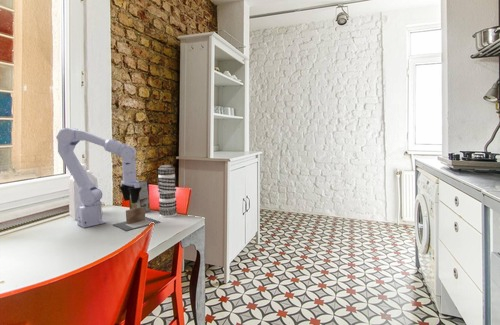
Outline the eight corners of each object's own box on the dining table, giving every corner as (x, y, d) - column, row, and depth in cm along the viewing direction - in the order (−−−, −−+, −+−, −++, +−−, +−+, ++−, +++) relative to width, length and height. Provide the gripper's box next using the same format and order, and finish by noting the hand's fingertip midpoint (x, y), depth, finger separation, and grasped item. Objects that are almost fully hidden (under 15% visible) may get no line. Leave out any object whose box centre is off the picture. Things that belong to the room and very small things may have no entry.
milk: (69, 215, 149) (65, 164, 147) (94, 211, 156) (91, 162, 154) (74, 219, 140) (71, 165, 138) (100, 215, 148) (97, 164, 145)
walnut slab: (128, 224, 130) (127, 210, 130) (126, 223, 132) (125, 210, 131) (145, 220, 136) (144, 207, 136) (143, 219, 138) (142, 206, 137)
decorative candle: (155, 217, 143) (152, 166, 140) (163, 212, 152) (162, 164, 150) (172, 217, 141) (170, 166, 139) (180, 213, 150) (178, 164, 148)
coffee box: (150, 210, 156) (149, 180, 154) (140, 213, 150) (138, 182, 149) (139, 208, 160) (138, 179, 159) (129, 211, 155) (127, 181, 154)
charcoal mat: (126, 231, 122) (126, 230, 122) (112, 225, 130) (112, 224, 130) (160, 222, 134) (160, 221, 134) (145, 217, 142) (145, 216, 142)
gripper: (145, 172, 132) (146, 202, 133) (130, 170, 142) (131, 198, 143) (130, 174, 127) (131, 205, 128) (115, 171, 137) (117, 200, 138)
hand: (130, 201), depth 135 cm, fingers open, 7 cm apart
